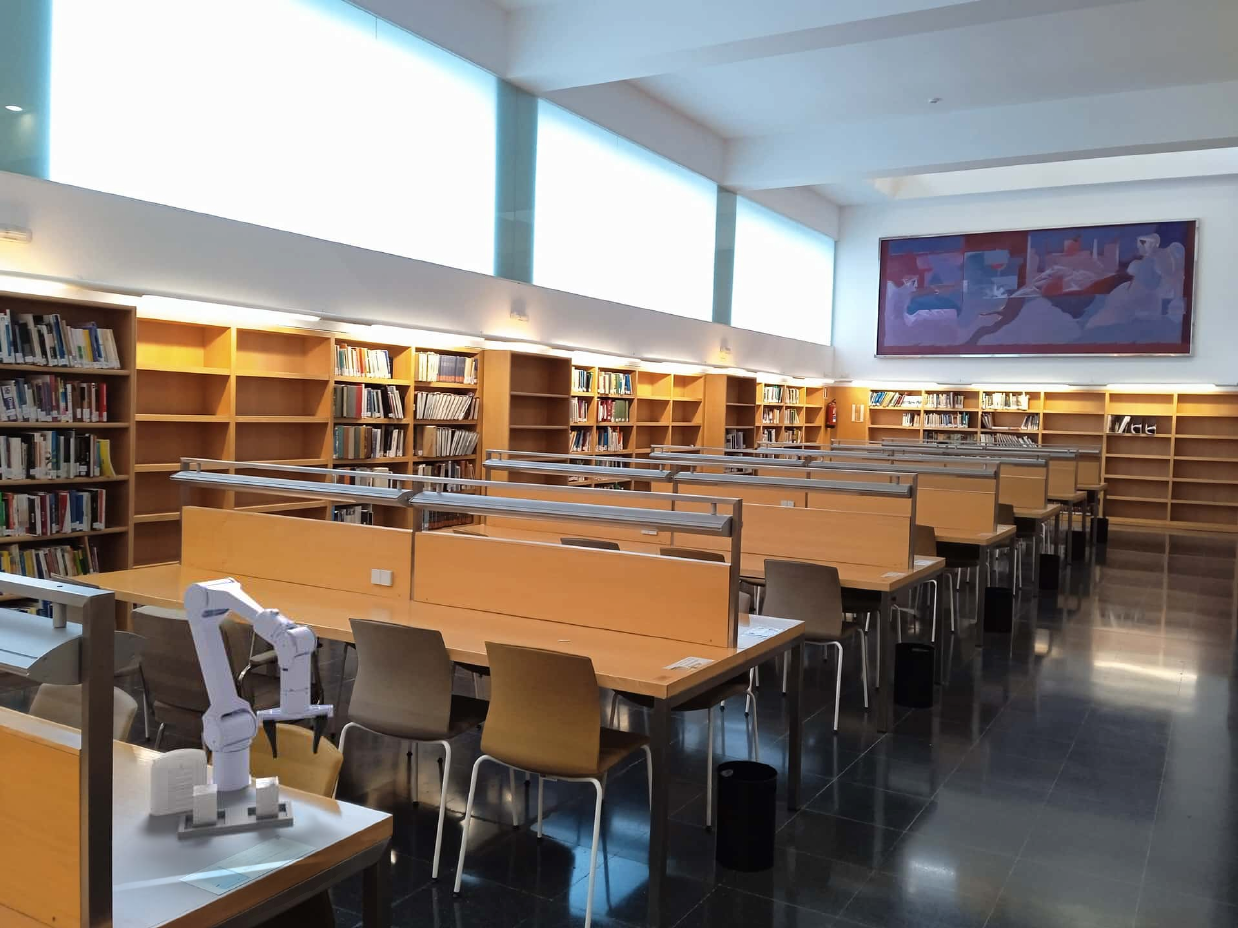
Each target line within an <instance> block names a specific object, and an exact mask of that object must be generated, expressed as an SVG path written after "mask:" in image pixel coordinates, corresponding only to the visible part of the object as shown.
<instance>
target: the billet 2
mask: <svg viewBox="0 0 1238 928" xmlns="http://www.w3.org/2000/svg"><path fill="white" fill-rule="evenodd" d="M279 783H280V782H279V778H278V776H272V777H271V776H270V777H263V778H262V777H261V778H255V805H256V820H264V819H272V818H279V802H280V798H279V797H280V784H279Z"/></svg>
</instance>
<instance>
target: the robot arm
mask: <svg viewBox="0 0 1238 928" xmlns="http://www.w3.org/2000/svg"><path fill="white" fill-rule="evenodd" d="M182 602H183V607H184V610H185V612H186V613H185V614H186V617H187V618H186V619H187V621H188V624H189V628H190V631H191V632H190V633H191V635H192V639H193V642H194V646H195V650H196V653H197V658H198V661H199V665H200V668H201V672H202V676H203V680H204V683H205V687H206V691H207V694H208V699H209V702H210V706H209V707H208V709H207V711H205V713H204V714H203V716H202V717H201V720H202V723H203V724H202V725H203V735H202V736H203V740H204V742H205V744H206V746H207V747H208V748H209V750H210V751H212V755H211V756H212V762H211V763H212V767H211V768H212V769H211V770H212V774H211V775H212V777H211V779H210V784H217V792H218V791H219V792H233V791H238V790H241V789H244V788H246V787H248V786H249V785H252V775H251V774H250V745H251V744H253V738H255V737H256V735H257V734H258V730H259V724H262V729H263V730H264V732H265V734H266V736H267V739H268V741H269V744H270V746H271V750H272V759H277V758H278V749H277V722H279V721H289V720H300V719H308V718H309V719H310V718H313V738H312V753H313V755H317V754H318V751H319V745H320V742H321V739H322V736H323V734H324V730H325V729H326V728H327V725H328V724H329V723H328V722H329V718H331V717H334V706H333V704H325V705H324V704H321V705H320V704H319V705H318V704H311V665H312V664H311V663H312V662H311V658H312V657H311V654H313V652H315V650H316V649H317V645H318V639H317V635H316V632H315V630H314V629H312V628H311V626H309V625H307V624H303V625H299V624H296V623H295V622H294V621H293V620H290V619H289V618H287V617H286V616H284V615H283V614H281V613H280V612H281V611H280V610H279V609H277V608H267V609H265V608H263V607H262V606H261V605H260V604H258V602H256V601H255V600H254V599H253V598H251V597H250V596H249V595H248V594H247V593H246V592H244V590H243V587H242V584H241V583H240V582H237V581H236V580H235V579H234V578H232V577H225V578H221V579H215V580H210V581H209V580H208V581H203V582H192V583H191V584H189V585H188V586H187V587H186V590H185V592H184V594H183V597H182ZM231 611H232V612H233V613H235V614H237V615H238V616H240V617H242V618H243V619H245V620H246V621H248V622H250V623H252V625H253V626H252V629H253V630H254V632H255V634H257V635H258V636H260V637H261V638H263V639H264V640H266V641H267V642H268V643H269V644H271V645H272V646H273V649H274V652H275V654H276V656H277V664H278V667H279V668H280V695H279V696H280V698H279V699H280V700H279V701H280V702H279V703H280V704H279V705H280V707H276V708H272V709H271V708H270V709H265V710H258V711H256V715H255V713H254V712H253V710H252V708H251V704H250V702H248V701H247V700H245V699H242V698H241V697H239V696H238V693H237V689H236V686H235V682H234V679H233V674H232V670H231V667H230V666H231V665H230V663H229V660H228V656H227V653H226V648H225V645H224V641H223V638H222V633H221V631H220V630H221V629H220V624H221V622H222V620H223V619H225V618H226V617H227V616H228V614H229V613H231ZM226 714H229V715H226ZM224 715H225V716H224Z"/></svg>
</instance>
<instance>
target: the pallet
mask: <svg viewBox="0 0 1238 928" xmlns="http://www.w3.org/2000/svg"><path fill="white" fill-rule="evenodd" d="M292 809H293V807H292V801H291V800H285V801H279V818H272V819H264V820H256V804H253V805H252V804H251V805H244V806H236V807H229V808H220V809H218V808H217V826H209V827H201V828H193V812H186V813H180V814H179V820H178V821H179V822H178V827H177V829H178V830H177V840H182V839H190V838H196V837H205V836H213V835H214V836H215V835H221V834H229V833H230V834H231V833H235V832H236V833H237V832H245V831H252V830H253V831H254V830H260V829H268V828H275V827H284V826H289V825H294V815H293V810H292Z"/></svg>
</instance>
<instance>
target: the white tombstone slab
mask: <svg viewBox="0 0 1238 928" xmlns="http://www.w3.org/2000/svg"><path fill="white" fill-rule="evenodd" d="M207 758H208V757H207V755H206V752H205V750H204V749H198V748H197V749H196V748H182V749H174V750H171V751H167V752H165V753H162V754H159V755H157V756H155V757H153V759H152V764H151V765H150V802H149V803H150V806H149V807H150V808H149V809H150V811H149V813H150V815H151V816H154V817H158V816H165V815H166V816H167V815H172V814H176V813H182V812H188V811H193V793H194V786H200V785H208V760H207Z"/></svg>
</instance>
